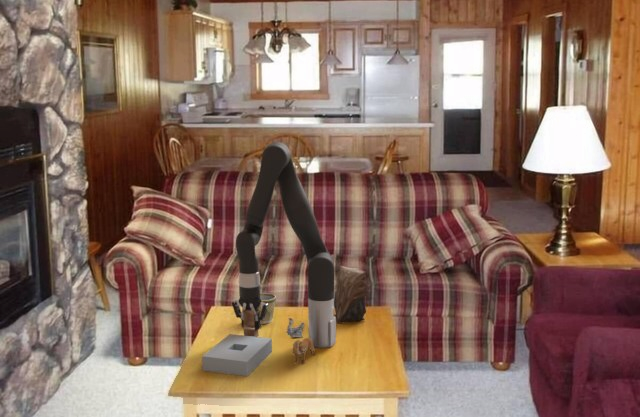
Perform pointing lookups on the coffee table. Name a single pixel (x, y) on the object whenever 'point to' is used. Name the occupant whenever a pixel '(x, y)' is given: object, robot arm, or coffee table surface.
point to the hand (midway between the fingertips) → (251, 329)
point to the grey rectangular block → (237, 354)
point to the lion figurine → (302, 349)
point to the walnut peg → (249, 323)
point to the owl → (350, 295)
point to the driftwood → (294, 329)
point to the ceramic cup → (270, 300)
